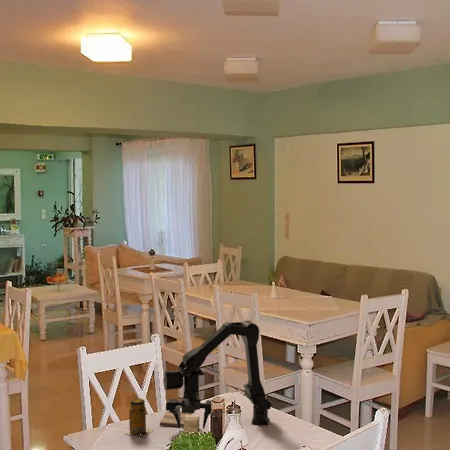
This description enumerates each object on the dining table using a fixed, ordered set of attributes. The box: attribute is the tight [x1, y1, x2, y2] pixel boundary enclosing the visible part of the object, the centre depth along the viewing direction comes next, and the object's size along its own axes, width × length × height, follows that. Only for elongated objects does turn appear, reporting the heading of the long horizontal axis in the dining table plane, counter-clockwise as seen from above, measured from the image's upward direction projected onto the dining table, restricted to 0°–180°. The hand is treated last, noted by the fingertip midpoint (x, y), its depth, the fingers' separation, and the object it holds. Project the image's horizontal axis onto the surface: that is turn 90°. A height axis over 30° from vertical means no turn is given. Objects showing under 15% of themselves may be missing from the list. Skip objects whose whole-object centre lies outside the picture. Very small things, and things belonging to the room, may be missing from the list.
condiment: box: [124, 398, 155, 438], centre depth 226 cm, size 7×8×12 cm
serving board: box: [159, 410, 192, 428], centre depth 238 cm, size 12×10×1 cm
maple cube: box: [183, 414, 200, 432], centre depth 228 cm, size 5×5×5 cm
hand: (191, 427), depth 228 cm, fingers open, 9 cm apart
